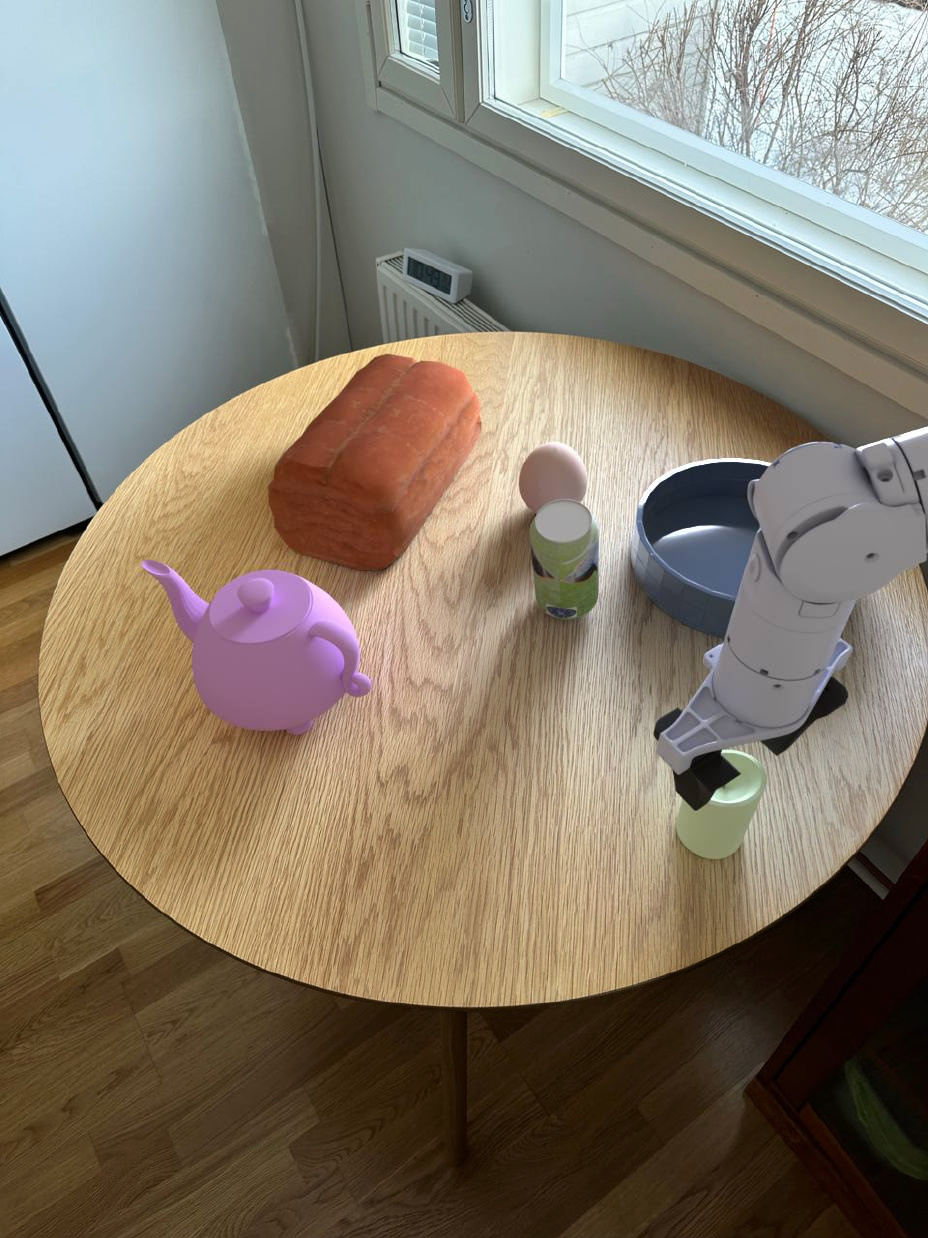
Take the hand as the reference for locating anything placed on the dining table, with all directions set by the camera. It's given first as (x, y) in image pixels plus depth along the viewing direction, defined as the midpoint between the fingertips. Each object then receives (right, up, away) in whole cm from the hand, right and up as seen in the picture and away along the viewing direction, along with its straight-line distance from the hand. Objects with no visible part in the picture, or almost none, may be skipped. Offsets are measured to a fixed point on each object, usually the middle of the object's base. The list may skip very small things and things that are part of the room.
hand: (730, 770), depth 57 cm
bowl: (+9, +16, +26) cm, 32 cm away
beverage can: (-9, +12, +23) cm, 27 cm away
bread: (-27, +25, +36) cm, 52 cm away
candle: (0, -6, +6) cm, 9 cm away
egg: (-9, +22, +32) cm, 40 cm away
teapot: (-35, +4, +18) cm, 40 cm away
